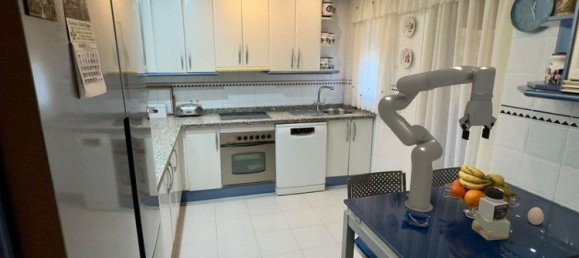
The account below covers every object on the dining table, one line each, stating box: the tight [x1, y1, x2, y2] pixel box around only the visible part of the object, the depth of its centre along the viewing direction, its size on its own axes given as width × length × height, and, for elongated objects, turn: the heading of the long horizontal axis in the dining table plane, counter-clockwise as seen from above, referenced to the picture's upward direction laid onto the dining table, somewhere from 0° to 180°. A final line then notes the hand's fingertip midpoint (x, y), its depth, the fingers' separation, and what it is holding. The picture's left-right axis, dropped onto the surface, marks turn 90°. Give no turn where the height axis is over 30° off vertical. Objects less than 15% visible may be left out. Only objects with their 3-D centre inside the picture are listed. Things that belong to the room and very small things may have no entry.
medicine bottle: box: [477, 186, 509, 221], centre depth 126 cm, size 7×7×12 cm
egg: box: [527, 206, 545, 226], centre depth 135 cm, size 6×6×8 cm
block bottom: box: [471, 219, 510, 241], centre depth 128 cm, size 9×9×4 cm
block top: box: [474, 210, 511, 233], centre depth 127 cm, size 9×9×4 cm
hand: (475, 138), depth 128 cm, fingers open, 9 cm apart
